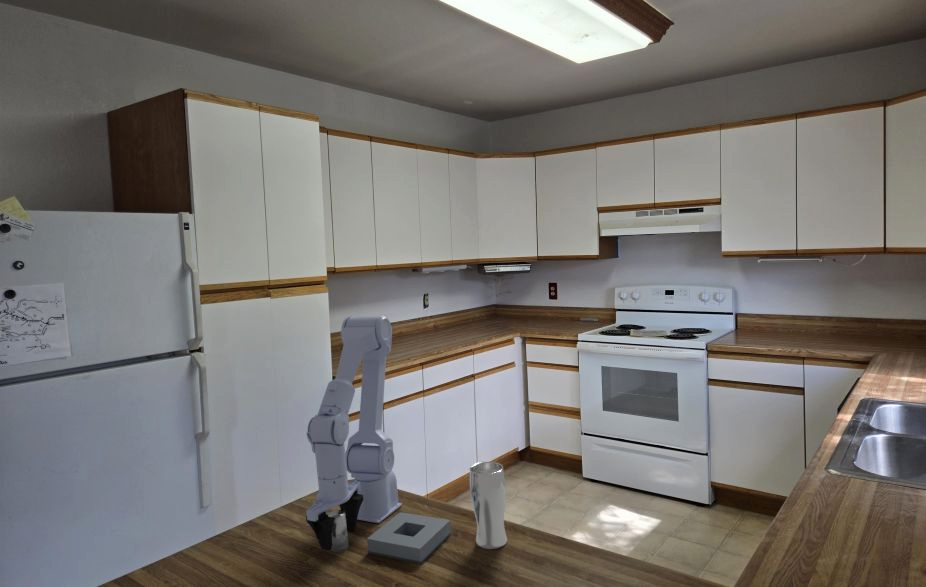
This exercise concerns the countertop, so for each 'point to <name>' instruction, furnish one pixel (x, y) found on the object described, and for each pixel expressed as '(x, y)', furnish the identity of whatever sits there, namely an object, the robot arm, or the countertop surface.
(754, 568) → the countertop surface
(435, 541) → the hole block
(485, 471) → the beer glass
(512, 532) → the countertop surface
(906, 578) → the countertop surface
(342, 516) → the peg
